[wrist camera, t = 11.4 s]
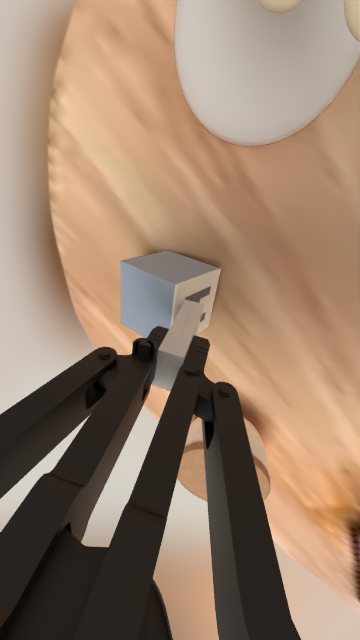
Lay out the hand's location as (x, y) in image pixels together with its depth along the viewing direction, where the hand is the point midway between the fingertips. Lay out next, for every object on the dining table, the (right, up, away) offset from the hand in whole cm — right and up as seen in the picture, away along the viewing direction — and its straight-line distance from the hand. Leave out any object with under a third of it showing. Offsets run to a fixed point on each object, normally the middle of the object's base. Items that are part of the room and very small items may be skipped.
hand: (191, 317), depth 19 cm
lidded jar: (+6, -14, +15) cm, 22 cm away
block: (0, +1, +2) cm, 2 cm away
